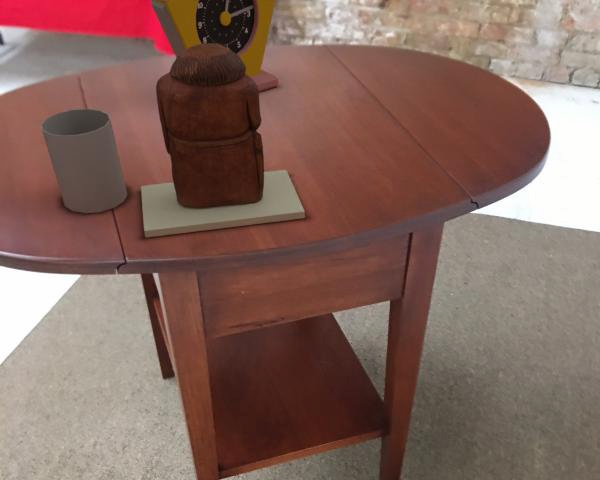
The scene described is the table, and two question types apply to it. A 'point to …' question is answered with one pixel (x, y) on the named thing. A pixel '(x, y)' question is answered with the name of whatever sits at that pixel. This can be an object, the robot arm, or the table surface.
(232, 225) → the mat
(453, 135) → the table surface
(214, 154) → the wooden figurine
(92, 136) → the cup
